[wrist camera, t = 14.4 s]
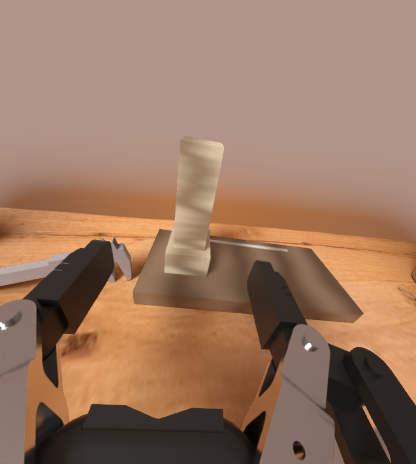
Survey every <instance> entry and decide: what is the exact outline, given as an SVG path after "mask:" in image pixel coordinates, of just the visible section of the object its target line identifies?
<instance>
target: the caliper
mask: <svg viewBox="0 0 416 464" xmlns="http://www.w3.org/2000/svg"><path fill="white" fill-rule="evenodd" d="M100 240H101V241H105V240H104V239H102V238H101V239H100ZM111 246H112V252H113V258H114V263H118V265H119V267H120V268H121V270H122V272H123V273H124V275H125V277H126V279H127V281H128V280H130V279H131V278H132V265H131V257H130V254H129V252H128V251H127V249H126V247H125V245H124V243H123V244H118V243H117V241H116V239H115V237H114V236H113V237H112V240H111ZM70 253H72V252H69V253H63V254H58V255H52V257H51V258H50V259H49V260H43V261H38V262H32V263H27V264H21V265H15V266H10V267H4V268H0V286H3V285H8V284H13V283H18V282H23V281H28V280H33V279H39V278H44V277H46V276H47V275H48V274H49V273H50V272H51V271H52V270H54V268H55V267H57V266H58V265H59V264H61V262H62V261H63V260H64V259H65V258H66V257H67V256H68V255H69V254H70ZM116 277H117V275H116V274H115V271H114V270H113V272H112V274H111V276H110V278H109V279H108V281H110V282H116Z"/></svg>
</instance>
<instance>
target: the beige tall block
mask: <svg viewBox="0 0 416 464" xmlns="http://www.w3.org/2000/svg"><path fill="white" fill-rule="evenodd" d="M223 152H224V147H223V145H222V144H221V143H218V142H213V141H208V140H202V139H197V138H191V137H184V138H182V139H181V141H180V155H179V171H178V184H177V200H176V216H175V225H174V226H173V229H172V232H171V235H170V239H169V242H168V245H167V248H166V252H165V268H164V273H173V274H183V275H192V276H201V277H206V276H207V272H208V267H209V263H210V259H211V257H210V230H209V224H210V219H211V214H212V209H213V203H214V198H215V193H216V188H217V183H218V178H219V173H220V167H221V162H222V157H223Z"/></svg>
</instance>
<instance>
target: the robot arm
mask: <svg viewBox="0 0 416 464" xmlns="http://www.w3.org/2000/svg"><path fill="white" fill-rule="evenodd" d="M113 270H114V258H113V252H112V246H111V243H110V242H109V241H101V240H92V241H91V242H90V243H89V244H88V245H87V246H86V247H85V248H79V249H78V250H76V251H74V252H72V253H70V254H69V255H68V256H67V257H66V258H65V259H64V260H63V261H62V262H61V264H59V265H58V266H57V267H55V268H54V270H52V271H51V272H50V273H49V274H48V275H47V276H46V277H45V278H44V279H43V280H42V281H41V282H40V283H39V284H38V285H37V286H36V287H35V288H34V289H33V290H32V291H31V292H30V293H29V294H28V295H27V296H26V297H24V298H23V299H22V300H15V301H12V302H9V303H6V304H3V305H1V306H0V464H333V453H334V436H335V439H336V441H337V444H338V447H339V449H340V452H341V455H342V457H343V460H344V463H345V464H416V405H415V404H414V402H413V401H412V400H411V398H410V397H409V395H408V394H407V392H406V391H405V389H404V388H403V387H402V385H401V384H400V382H399V381H398V379H397V378H396V377H395V375H394V374H393V372H392V371H391V369H390V368H389V367H388V366H387V364H386V363H385V362H384V361H383V360H382V359H381V358H379V357H378V356H377V355H376V354H374V353H373V352H371V351H369V350H368V349H365V348H362V347H355V348H354V349H352V350H351V351H350V352H348V351H345V350H343V349H341V348H338V347H336V346H333V345H331V344H329V343H327V342H326V340H325V339H324V338H323V336H322V335H321V334H320V333H319V332H318V331H316V330H315V329H314V328H312V327H310V326H308V325H307V323H306V321H305V319H304V317H303V315H302V313H301V311H300V309H299V307H298V305H297V303H296V301H295V299H294V297H293V296H292V293H291V290H290V289H289V286H288V284H287V282H286V280H285V279H284V278H283V277H282V276H281V275H280V273H279V272H275V271H274V269H273V267H272V265H271V263H270V262H268V261H260V260H256V261H255V262H254V264H253V267H252V269H251V272H250V274H249V276H248V279H247V290H248V295H249V299H250V303H251V307H252V311H253V315H254V320H255V324H256V328H257V332H258V336H259V340H260V344H261V349H268V350H270V352H271V355H272V356H271V358H270V360H269V362H268V365H267V368H266V370H265V373H264V376H263V378H262V381H261V384H260V386H259V389H258V392H257V394H256V397H255V399H254V401H253V403H252V405H251V407H250V408H249V410H248V412H247V415H246V417H245V419H244V422H243V424H242V427H241V429H239V428H238V427H237V426H236V425H235V424H233V423H232V422H230V421H229V420H227V419H225V418H223V409H206V408H191V409H187V410H184V411H181V412H178V413H175V414H172V415H169V416H166V417H163V418H160V419H156V418H153V417H151V416H149V415H146V414H144V413H142V412H140V411H137V410H135V409H133V408H131V407H128V406H126V405H103V404H92V405H91V407H90V410H89V412H88V414H85V415H83V416H80V417H78V418H76V419H74V420H72V421H70V422H69V412H68V406H67V402H66V399H65V396H64V392H63V386H62V374H61V361H60V349H59V342H58V341H59V340H60V338H61V337H62V335H63V334H75V332H76V331H77V329H78V328H79V326H80V324H81V323H82V321H83V320H84V318H85V316H86V315H87V313H88V312H89V310H90V308H91V307H92V305H93V303H94V302H95V300H96V299H97V297H98V295H99V294H100V292H101V291H102V289H103V287H104V286H105V284H106V282H107V281H108V279H109V278H110V276H111V274H112V272H113ZM412 276H413V278H414V280H415V281H416V271H415V272H414V273H413V274H412ZM364 405H365V406H366V408H367V410H368V412H369V414H370V416H371V418H372V420H373V422H374V423H375V425H376V427H377V429H378V431H379V433H380V435H381V437H382V439H383V441H384V443H385V445H386V447H387V449H388V451H389V454H390V458H391V463H390V461H389V459H388V457H387V455H386V454H385V452H384V450H383V448H382V446H381V444H380V442H379V440H378V438H377V436H376V434H375V432H374V430H373V428H372V426H371V424H370V422H369V420H368V418H367V416H366V414H365V412H364V410H363V408H362V406H364Z"/></svg>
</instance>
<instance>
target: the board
mask: <svg viewBox="0 0 416 464" xmlns="http://www.w3.org/2000/svg"><path fill="white" fill-rule="evenodd" d="M171 232H172V231H170V230H162V229H159V232H158V234H157V236H156V239H155V241H154V243H153V246H152V248H151V250H150V253H149V255H148V257H147V260H146V262H145V264H144V267H143V269H142V271H141V274H140V276H139V278H138V281H137V283H136V285H135V288H134V290H133V298H134V304H144V305H155V306H166V307H178V308H189V309H200V310H212V311H223V312H234V313H246V314H253V311H252V307H251V303H250V299H249V295H248V290H247V279H248V276H249V274H250V272H251V269H252V267H253V264H254V262H255V261H256V260H260V261H268V262H270V263H271V265H272V267H273V269H274V271H275V272H279V273H280V275H281V276H282V277H283V278H284V279H285V280H286V282H287V284H288V286H289V289H290V290H291V293H292V296H293V297H294V299H295V301H296V303H297V305H298V307H299V309H300V311H301V313H302V315H303V317H304V319H314V320H325V321H336V322H347V323H354V322H355V321H356V320H357V319H358V318H359V317H360V316H362V315H363V314H364V313H363V312H362V311H361V310H360V308H359V307H358V306H357V305H356V303H355V302H354V301H353V300H352V299H351V297H350V296H349V295H348V294H347V292H346V291H345V290H344V289H343V287H342V286H341V285H340V284H339V283H338V281H337V280H336V279H335V278H334V276H333V275H332V274H331V273H330V272H329V270H328V269H327V268H326V267H325V265H324V264H323V263H322V262H321V260H320V259H319V258H318V257H317V256H316V254H315V253H314V252H313V251H312V249H309V248H301V247H294V246H286V245H278V244H270V243H263V242H255V241H247V240H240V239H232V238H224V237H216V236H210V257H211V259H210V263H209V267H208V272H207V276H206V277H201V276H192V275H183V274H173V273H164V268H165V252H166V248H167V245H168V242H169V239H170V235H171Z"/></svg>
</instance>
